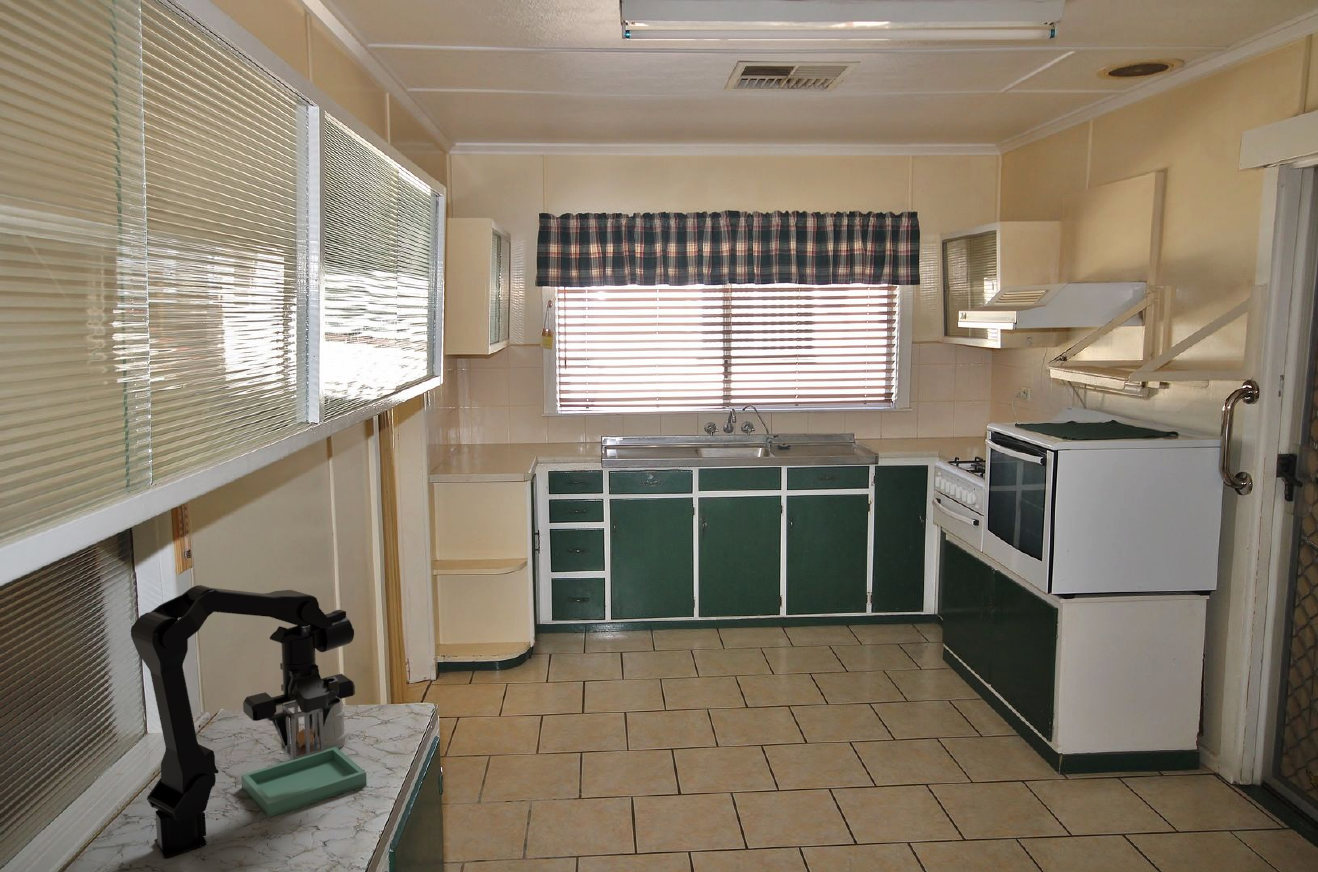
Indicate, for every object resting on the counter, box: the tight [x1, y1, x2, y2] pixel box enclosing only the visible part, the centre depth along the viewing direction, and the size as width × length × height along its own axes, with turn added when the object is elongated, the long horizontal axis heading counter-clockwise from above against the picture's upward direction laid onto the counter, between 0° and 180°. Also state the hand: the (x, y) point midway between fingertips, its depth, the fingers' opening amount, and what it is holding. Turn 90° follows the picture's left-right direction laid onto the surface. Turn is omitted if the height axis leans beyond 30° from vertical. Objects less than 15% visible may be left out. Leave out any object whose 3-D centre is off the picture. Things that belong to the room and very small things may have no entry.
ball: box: [297, 728, 314, 745], centre depth 178 cm, size 3×3×3 cm
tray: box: [240, 747, 368, 818], centre depth 178 cm, size 18×14×2 cm
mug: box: [312, 697, 348, 750], centre depth 197 cm, size 8×12×12 cm, turn 17°
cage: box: [280, 702, 324, 760], centre depth 177 cm, size 6×6×8 cm
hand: (302, 740), depth 177 cm, fingers closed on cage, 6 cm apart
